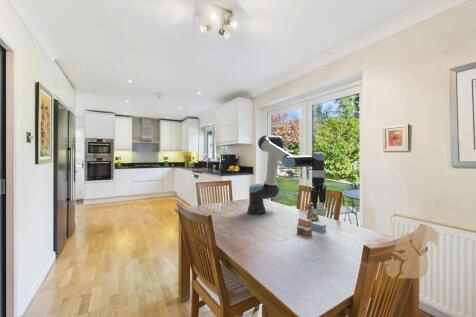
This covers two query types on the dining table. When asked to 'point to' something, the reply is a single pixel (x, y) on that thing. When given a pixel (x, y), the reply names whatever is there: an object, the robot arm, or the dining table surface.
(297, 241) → the dining table surface
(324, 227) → the blue brick
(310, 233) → the walnut brick
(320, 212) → the sage brick
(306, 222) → the terracotta brick
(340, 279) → the dining table surface
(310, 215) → the mug
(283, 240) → the dining table surface
